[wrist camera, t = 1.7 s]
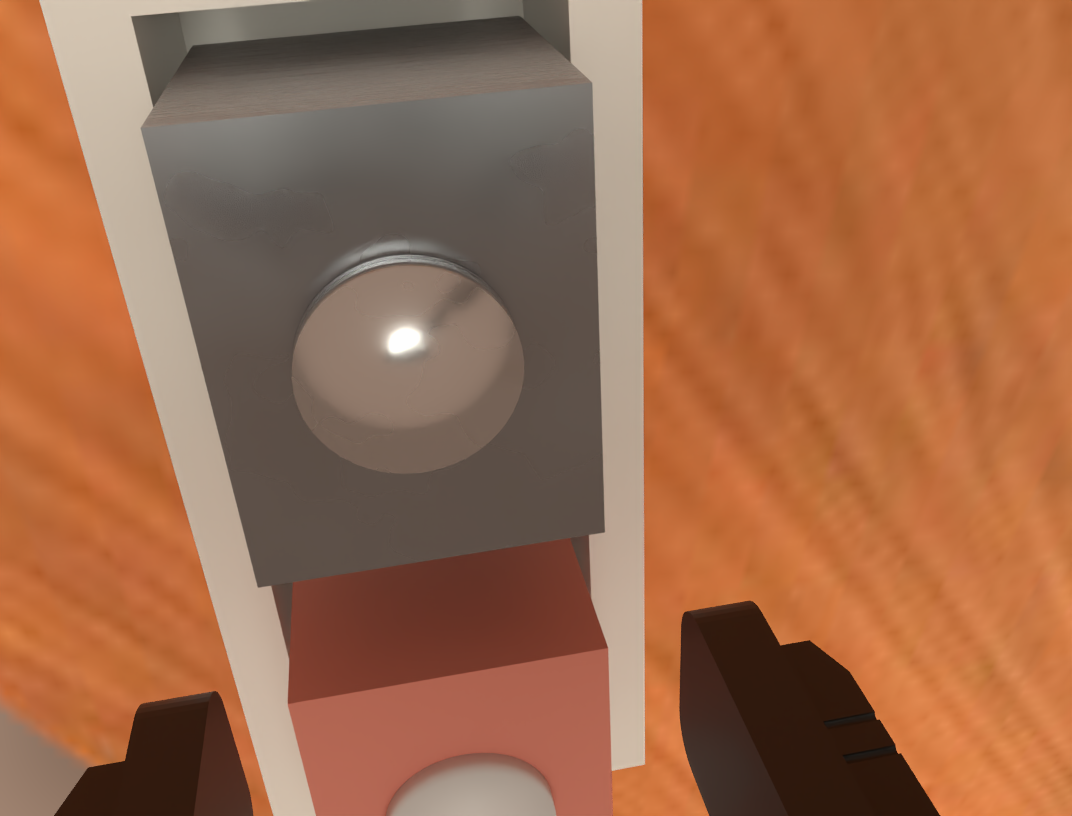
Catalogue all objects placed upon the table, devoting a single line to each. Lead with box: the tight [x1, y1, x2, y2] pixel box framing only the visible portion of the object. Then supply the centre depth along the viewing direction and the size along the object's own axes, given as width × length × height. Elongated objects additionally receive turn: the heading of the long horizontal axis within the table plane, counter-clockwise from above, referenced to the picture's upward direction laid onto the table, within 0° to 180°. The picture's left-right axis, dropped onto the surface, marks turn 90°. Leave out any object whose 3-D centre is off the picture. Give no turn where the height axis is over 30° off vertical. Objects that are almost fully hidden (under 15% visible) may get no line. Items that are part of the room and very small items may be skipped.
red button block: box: [288, 538, 613, 816], centre depth 27 cm, size 7×9×8 cm
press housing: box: [39, 0, 645, 816], centre depth 29 cm, size 12×26×7 cm, turn 4°
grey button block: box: [141, 16, 605, 588], centre depth 21 cm, size 7×9×8 cm
